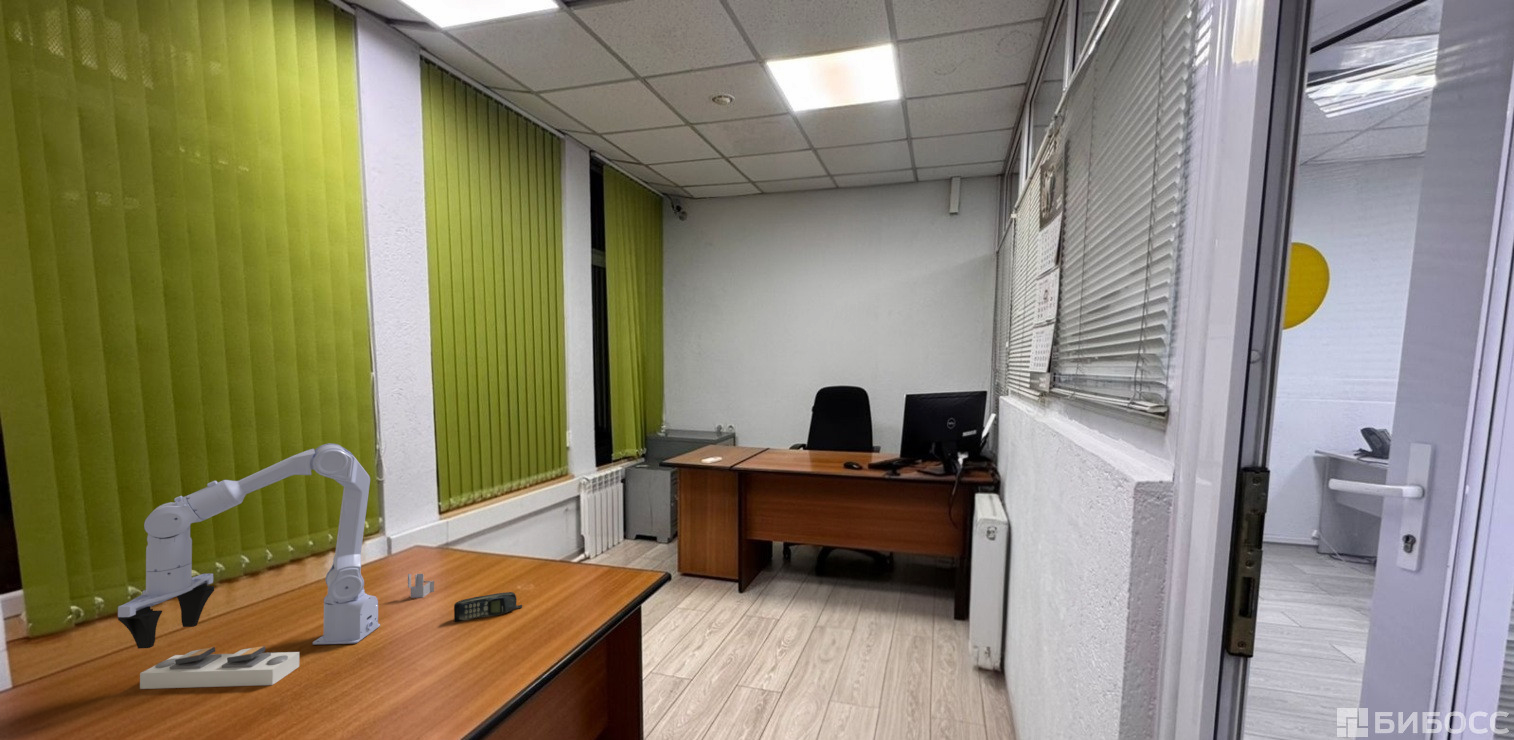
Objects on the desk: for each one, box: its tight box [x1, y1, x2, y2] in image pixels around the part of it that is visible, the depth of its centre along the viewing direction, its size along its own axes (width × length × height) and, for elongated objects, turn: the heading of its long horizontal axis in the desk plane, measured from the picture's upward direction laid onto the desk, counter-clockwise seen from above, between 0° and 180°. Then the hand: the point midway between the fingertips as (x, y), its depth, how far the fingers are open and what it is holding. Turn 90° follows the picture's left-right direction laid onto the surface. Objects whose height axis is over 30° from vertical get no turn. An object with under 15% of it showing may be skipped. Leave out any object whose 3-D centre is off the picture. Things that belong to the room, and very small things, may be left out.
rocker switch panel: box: [139, 651, 300, 690], centre depth 98 cm, size 24×6×4 cm, turn 93°
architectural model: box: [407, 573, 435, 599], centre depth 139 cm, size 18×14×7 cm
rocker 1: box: [175, 646, 216, 664], centre depth 98 cm, size 4×3×1 cm
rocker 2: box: [227, 645, 266, 663], centre depth 99 cm, size 4×3×1 cm
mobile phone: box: [453, 591, 523, 623], centre depth 124 cm, size 5×3×15 cm
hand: (168, 636), depth 96 cm, fingers open, 7 cm apart
